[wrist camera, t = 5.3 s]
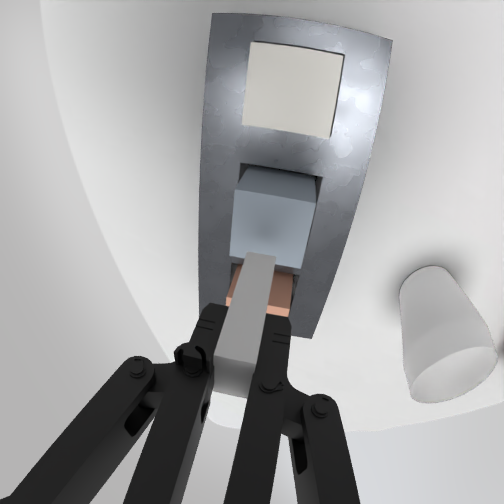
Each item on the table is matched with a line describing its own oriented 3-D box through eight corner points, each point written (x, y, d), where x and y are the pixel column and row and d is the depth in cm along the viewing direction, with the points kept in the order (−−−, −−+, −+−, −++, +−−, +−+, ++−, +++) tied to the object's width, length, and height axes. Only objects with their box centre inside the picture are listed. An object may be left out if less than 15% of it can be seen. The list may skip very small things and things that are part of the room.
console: (226, 22, 18) (212, 13, 15) (378, 45, 17) (392, 40, 14) (209, 292, 34) (199, 317, 31) (312, 312, 33) (311, 338, 30)
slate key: (249, 165, 22) (234, 189, 18) (314, 176, 22) (316, 203, 18) (243, 221, 25) (229, 255, 21) (302, 232, 24) (300, 268, 20)
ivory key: (263, 49, 17) (250, 42, 13) (334, 60, 17) (343, 56, 13) (255, 113, 20) (241, 124, 16) (323, 125, 20) (328, 139, 15)
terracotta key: (239, 260, 27) (226, 297, 23) (293, 270, 27) (289, 309, 23) (235, 299, 30) (223, 336, 26) (284, 308, 30) (278, 347, 26)
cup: (378, 315, 32) (392, 406, 22) (402, 250, 27) (437, 345, 17) (442, 319, 31) (466, 400, 21) (471, 260, 26) (516, 343, 16)
